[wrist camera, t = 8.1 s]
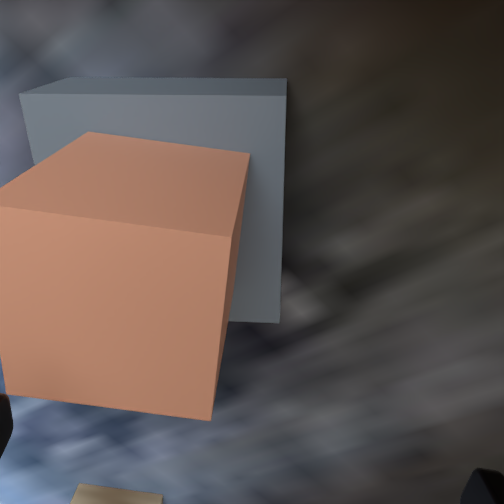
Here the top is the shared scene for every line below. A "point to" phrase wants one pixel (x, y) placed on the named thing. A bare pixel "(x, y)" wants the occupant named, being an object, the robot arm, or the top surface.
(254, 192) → the slate base block
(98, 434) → the top surface
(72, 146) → the terracotta block
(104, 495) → the birch block
